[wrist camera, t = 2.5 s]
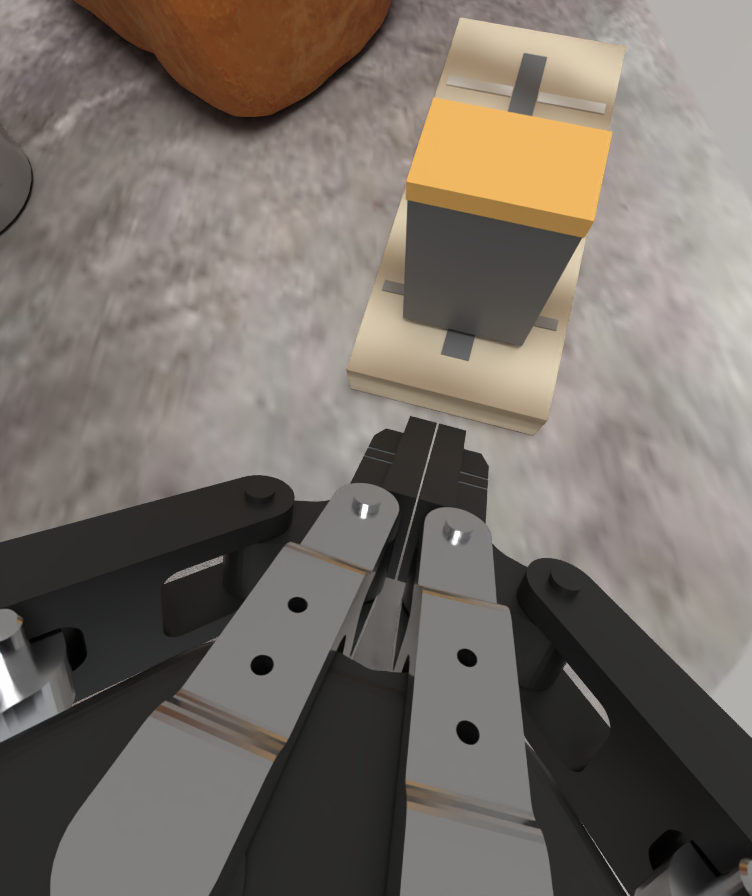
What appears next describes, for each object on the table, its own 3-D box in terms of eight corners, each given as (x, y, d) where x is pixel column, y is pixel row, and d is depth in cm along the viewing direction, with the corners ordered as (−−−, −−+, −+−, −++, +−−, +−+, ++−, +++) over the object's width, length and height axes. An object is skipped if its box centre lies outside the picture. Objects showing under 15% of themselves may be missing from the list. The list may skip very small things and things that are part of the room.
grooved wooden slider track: (533, 435, 26) (548, 419, 23) (350, 388, 27) (346, 368, 24) (608, 87, 32) (626, 44, 29) (455, 59, 33) (460, 15, 30)
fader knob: (522, 347, 24) (593, 220, 16) (401, 318, 25) (406, 181, 16) (537, 284, 25) (612, 131, 16) (420, 257, 26) (433, 97, 17)
